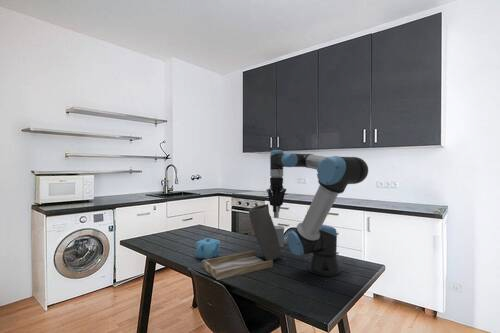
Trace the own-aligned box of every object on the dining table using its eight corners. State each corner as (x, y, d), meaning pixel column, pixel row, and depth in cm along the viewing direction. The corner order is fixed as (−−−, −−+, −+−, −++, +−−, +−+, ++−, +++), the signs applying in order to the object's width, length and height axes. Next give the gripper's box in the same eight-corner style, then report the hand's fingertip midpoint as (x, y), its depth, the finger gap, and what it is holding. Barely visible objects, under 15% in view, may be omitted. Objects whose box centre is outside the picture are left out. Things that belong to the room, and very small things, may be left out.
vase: (285, 251, 159) (271, 202, 158) (279, 260, 147) (264, 208, 147) (266, 254, 164) (253, 206, 163) (259, 263, 152) (244, 212, 152)
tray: (273, 267, 144) (273, 259, 144) (217, 280, 126) (217, 271, 126) (253, 256, 160) (253, 249, 160) (202, 267, 143) (202, 259, 143)
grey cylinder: (283, 247, 178) (283, 229, 178) (269, 246, 179) (269, 228, 179) (284, 243, 187) (284, 226, 187) (270, 243, 189) (271, 225, 189)
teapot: (205, 251, 168) (205, 233, 168) (228, 256, 159) (229, 237, 159) (187, 259, 155) (187, 239, 155) (211, 265, 146) (212, 244, 145)
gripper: (281, 176, 163) (281, 215, 163) (263, 176, 156) (263, 217, 156) (289, 177, 157) (289, 217, 157) (271, 177, 150) (270, 219, 150)
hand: (276, 217), depth 157 cm, fingers closed
